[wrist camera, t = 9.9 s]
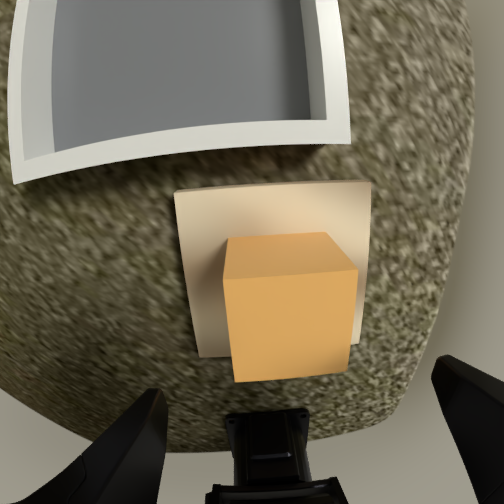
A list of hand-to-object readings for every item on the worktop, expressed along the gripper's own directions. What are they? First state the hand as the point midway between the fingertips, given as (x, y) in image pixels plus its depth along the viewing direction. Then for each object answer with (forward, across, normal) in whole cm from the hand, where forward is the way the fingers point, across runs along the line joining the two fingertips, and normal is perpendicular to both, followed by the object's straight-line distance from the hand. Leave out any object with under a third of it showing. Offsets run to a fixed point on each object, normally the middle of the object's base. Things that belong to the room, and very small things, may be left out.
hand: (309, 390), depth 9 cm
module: (+8, 0, 0) cm, 9 cm away
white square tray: (+10, +5, -15) cm, 18 cm away
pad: (+10, 0, 0) cm, 10 cm away
